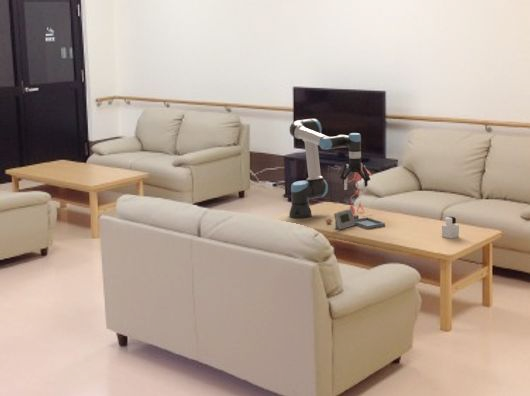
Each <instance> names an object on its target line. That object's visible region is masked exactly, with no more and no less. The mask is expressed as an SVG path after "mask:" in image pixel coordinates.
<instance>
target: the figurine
mask: <svg viewBox="0 0 530 396" xmlns="http://www.w3.org/2000/svg"><path fill="white" fill-rule="evenodd" d="M361 166H364V165H363V163H362V162H361ZM366 170H367V173H368V175H369V176H372V174H371V172H370V171H369V170H368V169H367V168H366ZM361 171H362V173H363V174H364V172H363V169H362V168H361ZM353 173H354V174H353V178H352V179H351V180H349V176H348V177H347V178H346V179H347V184H349V183H351V182H352V181H355V183H356V188H357V190H355V194H353V195H352V196H350V198H352V197H354V196H355V195H359V197H361V194H360V190H359V184H358V182H361V181H362V179H363V178H362V177H361V176H360V174H359V173H358V172H357V173H356V172H353ZM345 175H346V174H345ZM345 175H344V176H345ZM364 175H365V174H364ZM350 204H351V205H350V206H349V209H351V210H352V214H355V213H356V212H359V209H361V210H362V212H365V209H364V208H363V206H362V204H361V202H359V203H358V207H357V209H356V211H355V208H354V206H353V201H352V199H350ZM355 215H356V214H355ZM371 215H373V213H371V214H370V215H369V214H368V215H367V217H369V216H371Z"/></svg>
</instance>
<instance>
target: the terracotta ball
mask: <svg viewBox="0 0 530 396" xmlns="http://www.w3.org/2000/svg"><path fill="white" fill-rule="evenodd" d="M325 221H326V223H327V224H329V225H330V224H331V223H332V222H333V220H332V218H330V217H328V218H326V220H325Z"/></svg>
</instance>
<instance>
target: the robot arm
mask: <svg viewBox="0 0 530 396" xmlns="http://www.w3.org/2000/svg"><path fill="white" fill-rule="evenodd" d="M289 134H290V135H291V136H292V137H293V138H295V139H297V140H302V141H303V143H304V150H305V157H306V159H305V160H306V166H307V175H308V177H307V178H306V180H297V181H294V182H293V183H291V185H290V186H291V188H290V193H291V206H290V210H289V212H288V213H289V217H290V218H293V219H294V218H295V219H305V218H310V217H312V209H311V207H310V204H309V203H310V202H309V201H310V200H313V199H320V198H322V197H325V196H327V193H328V192H329V191H328V190H329V185H328V183H327V181H326V180H325V179H324V177H323V175H321V166H320V164H321V163H320V156H319V155H320V154H319V147H320V149H321V150H332V149H333V150H334V149H340V148H348V157H349V159H348V163H347V164H344V167H343V169H342V170H343V171H342V172H341V174H340V177H339V178H340V179H341V180H342V185H343V187H344V188H343V190H344V191H346V190H348V182H347V179H346V178H347V177H348V178H349V176H350V174H351V173H354V172H356V173H357V172H358V173H359V174H360V176H361V177H362V178H361V179H363V186H362V187H363V189H362V190H363V192H367V187H368V182H369V181H371V177H370V174H368V173H367V170H368V169H367V166H366V165H363V166H361V163H362V136H361V134H360V133H359V132H358V133H357V132H351V133H349V134H348V135H346V134H338V135H336V136H328V135H325V134H323V133H322V124H321V122H320V121H319V120H318V119H317V118H307V119H298V120H294V121H293V122H292V123H291V124H290V125H289ZM348 168H349V169H348ZM361 168H362V169H363V172H364V174H363V173H362V171H361ZM366 169H367V170H366ZM347 170H348V171H347ZM344 175H345V176H344Z"/></svg>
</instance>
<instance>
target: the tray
mask: <svg viewBox="0 0 530 396" xmlns="http://www.w3.org/2000/svg"><path fill="white" fill-rule="evenodd" d="M354 220H355V225H354V226H357V227H360V228H363V229H365V230H370V229H371V230H372V229H376V228H377V227H378V228H382V227H386V223H385V222H383V221H380V220H377V219H374V218H371V217H369V216H365V217H360V218H359V219H354ZM378 228H377V229H378Z"/></svg>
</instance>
